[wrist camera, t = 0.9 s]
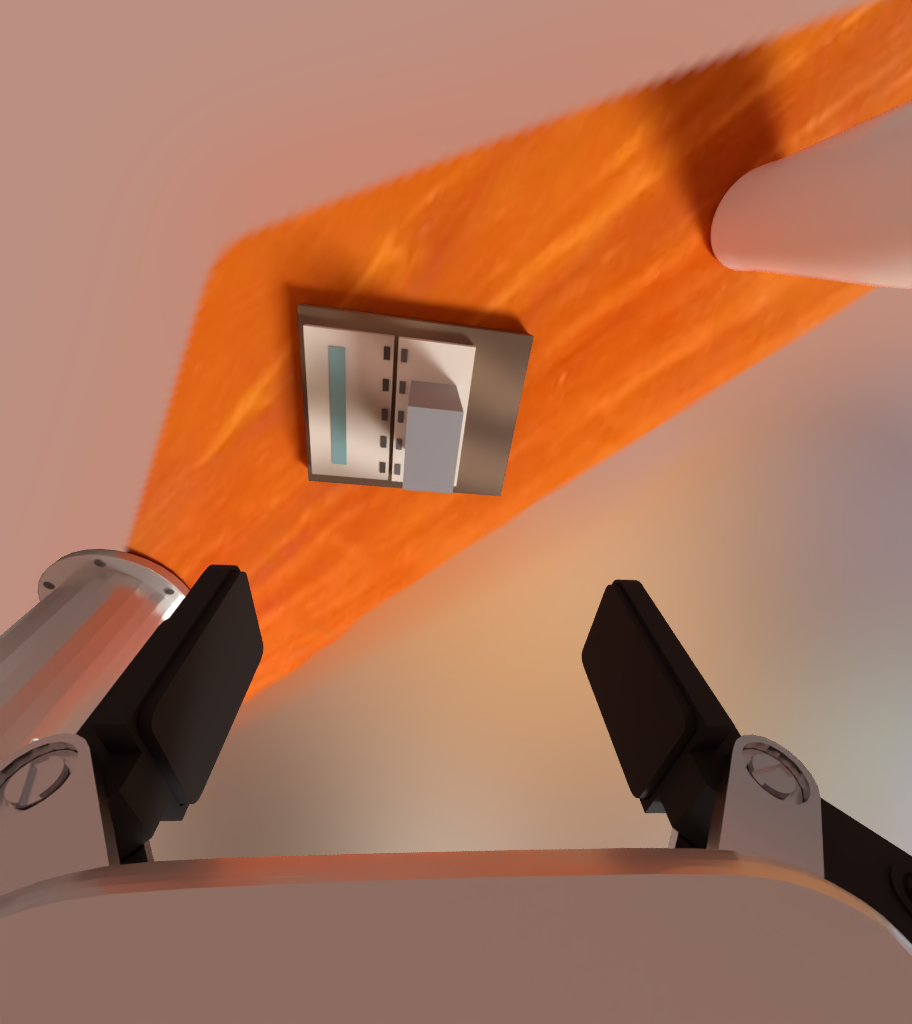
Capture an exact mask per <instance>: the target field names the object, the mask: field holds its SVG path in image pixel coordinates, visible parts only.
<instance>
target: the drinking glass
mask: <svg viewBox="0 0 912 1024" xmlns="http://www.w3.org/2000/svg"><path fill="white" fill-rule="evenodd" d="M710 239H711V247H712V250H713V253H714V255H715V257H716V259H717V260H718V261H719V262H720V263H721V264H722V265H723V266H725V267H727V268H729V269H732V270H736V271H761V272H770V273H778V274H786V275H794V276H802V277H810V278H817V279H824V280H832V281H839V282H846V283H854V284H862V285H870V286H879V287H892V288H907V289H912V99H911V100H909V101H907V102H905V103H903V104H901V105H898V106H896V107H894V108H892V109H890V110H888V111H885V112H883V113H881V114H879V115H877V116H874V117H872V118H870V119H868V120H866V121H864V122H861V123H859V124H857V125H855V126H853V127H851V128H848V129H846V130H844V131H842V132H840V133H837V134H835V135H833V136H831V137H829V138H826V139H824V140H822V141H820V142H818V143H815V144H813V145H811V146H809V147H806V148H804V149H802V150H800V151H797V152H795V153H793V154H791V155H788V156H786V157H784V158H782V159H779V160H776V161H773V162H770V163H767V164H764V165H761V166H759V167H756V168H754V169H752V170H751V171H749V172H747V173H746V174H745V175H743V176H742V177H741V178H739V179H738V180H737V181H736V182H735V183H734V184H733V185H732V186H731V187H730V189H729V190H728V191H727V192H726V194H725V195H724V197H723V198H722V200H721V202H720V203H719V205H718V207H717V210H716V212H715V215H714V218H713V221H712V226H711V234H710Z"/></svg>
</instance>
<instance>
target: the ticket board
mask: <svg viewBox="0 0 912 1024" xmlns="http://www.w3.org/2000/svg"><path fill="white" fill-rule="evenodd" d="M297 313H298V328H299V343H300V358H301V373H302V388H303V403H304V418H305V433H306V448H307V463H308V478H309V481H319V482H332V483H344V484H356V485H369V486H381V487H393V488H403V482H397V481H392V464H393V444H394V424H395V404H396V384H397V364H398V344H399V336H402V337H410V338H418V339H426V340H434V341H442V342H450V343H458V344H466V345H474V346H475V347H476V350H475V357H474V364H473V372H472V379H471V386H470V393H469V400H468V407H467V414H466V421H465V428H464V435H463V442H462V449H461V456H460V464H459V471H458V478H457V485H456V486H453V492H455V493H468V494H480V495H492V496H501V491H502V486H503V482H504V477H505V472H506V467H507V462H508V457H509V452H510V448H511V443H512V438H513V433H514V428H515V423H516V419H517V414H518V409H519V404H520V399H521V394H522V390H523V385H524V380H525V375H526V370H527V365H528V360H529V356H530V351H531V346H532V341H533V336H532V335H530V334H528V333H521V332H513V331H506V330H498V329H491V328H483V327H475V326H468V325H460V324H453V323H445V322H438V321H430V320H423V319H415V318H407V317H400V316H392V315H385V314H377V313H370V312H362V311H355V310H347V309H340V308H332V307H324V306H317V305H309V304H300V305H297Z"/></svg>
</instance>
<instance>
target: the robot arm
mask: <svg viewBox="0 0 912 1024" xmlns="http://www.w3.org/2000/svg"><path fill="white" fill-rule="evenodd" d="M38 595H39V599H40V602H39V603H38V604H37V605H36V606H35V607H34V608H32V609H31V610H30V611H29V612H28V613H27V614H25V615H24V616H23V617H22V618H21V619H19V620H18V621H17V622H16V623H15V624H14V625H12V626H11V627H10V628H9V629H8V630H7V631H5V632H4V633H3V634H2V635H1V636H0V1024H912V856H910V855H909V854H907V853H906V852H904V851H903V850H901V849H900V848H898V847H896V846H895V845H893V844H892V843H890V842H888V841H887V840H886V839H884V838H882V837H881V836H879V835H878V834H876V833H875V832H873V831H872V830H870V829H868V828H867V827H865V826H864V825H862V824H860V823H859V822H858V821H856V820H854V819H853V818H851V817H850V816H848V815H847V814H845V813H844V812H842V811H840V810H839V809H837V808H836V807H834V806H833V805H831V804H830V803H828V802H826V801H825V800H823V799H822V798H820V794H819V789H818V786H817V784H816V782H815V780H814V779H813V777H812V775H811V773H810V772H809V771H808V770H807V769H806V767H805V766H804V765H803V764H802V762H801V761H800V760H798V759H797V758H796V757H795V756H794V755H793V754H792V753H790V752H789V751H788V750H787V749H785V748H783V747H782V746H780V745H779V744H778V743H776V742H774V741H771V740H769V739H767V738H765V737H761V736H756V735H744V736H742V737H741V735H740V734H739V732H738V731H737V729H736V728H735V725H734V724H733V722H732V721H731V719H730V718H729V716H728V715H727V713H726V712H725V710H724V709H723V707H722V706H721V704H720V702H719V701H718V700H717V698H716V696H715V695H714V693H713V692H712V690H711V689H710V687H709V686H708V684H707V683H706V681H705V680H704V678H703V677H702V675H701V674H700V672H699V671H698V669H697V668H696V666H695V665H694V663H693V661H692V660H691V658H690V657H689V655H688V654H687V652H686V651H685V649H684V648H683V646H682V645H681V643H680V642H679V640H678V639H677V637H676V636H675V634H674V633H673V631H672V630H671V628H670V627H669V625H668V624H667V622H666V621H665V619H664V618H663V616H662V614H661V613H660V611H659V610H658V608H657V607H656V606H655V604H654V602H653V601H652V599H651V598H650V596H649V595H648V593H647V592H646V590H645V589H644V587H643V586H642V584H641V583H640V582H639V581H637V580H615V581H614V582H613V583H612V585H608V586H607V587H606V589H605V592H604V594H603V597H602V600H601V602H600V605H599V608H598V611H597V613H596V616H595V618H594V621H593V624H592V627H591V629H590V632H589V634H588V637H587V640H586V643H585V645H584V648H583V651H582V663H583V666H584V669H585V671H586V674H587V677H588V679H589V682H590V684H591V687H592V690H593V692H594V695H595V698H596V700H597V703H598V706H599V708H600V711H601V714H602V716H603V719H604V722H605V724H606V727H607V729H608V732H609V734H610V738H611V740H612V743H613V746H614V748H615V751H616V753H617V756H618V759H619V761H620V764H621V767H622V769H623V772H624V774H625V777H626V780H627V783H628V785H629V788H630V790H631V792H632V794H633V795H634V796H635V797H636V798H639V799H640V801H641V804H642V806H643V809H644V812H645V813H666V814H667V816H668V818H669V821H670V823H671V825H672V832H671V836H670V841H669V845H668V848H615V849H614V848H613V849H563V850H560V849H559V850H508V851H463V852H424V853H423V852H422V853H421V852H420V853H380V854H343V855H308V856H276V857H275V856H274V857H241V858H240V857H239V858H220V859H219V858H218V859H197V860H176V861H157V862H154V858H153V854H152V850H151V846H150V841H149V839H150V838H152V836H153V834H154V832H155V830H156V828H157V826H158V824H159V822H160V821H181V820H182V819H183V817H184V815H185V812H186V810H187V808H188V806H189V804H194V803H195V802H197V801H198V799H199V798H200V796H201V794H202V792H203V790H204V787H205V785H206V783H207V780H208V778H209V776H210V774H211V771H212V769H213V767H214V765H215V762H216V760H217V758H218V756H219V753H220V751H221V749H222V747H223V744H224V742H225V739H226V737H227V735H228V733H229V730H230V728H231V726H232V724H233V722H234V719H235V717H236V715H237V713H238V710H239V708H240V706H241V703H242V701H243V699H244V697H245V694H246V692H247V690H248V688H249V685H250V683H251V681H252V679H253V676H254V674H255V672H256V669H257V667H258V665H259V663H260V660H261V658H262V654H263V641H262V637H261V633H260V629H259V625H258V620H257V616H256V612H255V608H254V603H253V599H252V595H251V591H250V586H249V582H248V578H247V575H246V573H245V572H240V570H239V568H238V566H235V565H210V566H209V567H208V568H207V569H206V570H205V571H204V573H203V574H202V575H201V576H200V578H199V579H198V580H197V582H196V583H195V584H194V586H193V587H192V588H191V590H189V589H188V588H187V587H186V586H185V584H184V583H183V582H182V581H180V580H179V579H178V578H177V577H176V576H175V575H174V574H172V573H171V572H169V571H168V570H166V569H165V568H163V567H162V566H160V565H158V564H156V563H154V562H152V561H150V560H148V559H145V558H142V557H139V556H136V555H133V554H130V553H125V552H120V551H115V550H105V549H94V550H93V549H92V550H82V551H78V552H74V553H71V554H69V555H66V556H64V557H62V558H60V559H59V560H58V561H56V562H55V563H54V564H52V565H51V566H50V567H49V568H48V569H47V570H46V571H45V572H44V573H43V574H42V576H41V578H40V580H39V584H38Z"/></svg>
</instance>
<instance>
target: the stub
mask: <svg viewBox="0 0 912 1024" xmlns="http://www.w3.org/2000/svg"><path fill="white" fill-rule="evenodd" d="M475 350H476V347H475V346H474V345H466V344H458V343H450V342H442V341H434V340H426V339H418V338H410V337H402V336H399V344H398V364H397V384H396V404H395V424H394V444H393V464H392V481H397V482H403V488H402V490H415V491H427V492H439V493H452V494H453V486H456V485H457V478H458V471H459V464H460V456H461V449H462V442H463V435H464V428H465V421H466V414H467V407H468V400H469V393H470V386H471V379H472V372H473V364H474V357H475Z"/></svg>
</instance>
